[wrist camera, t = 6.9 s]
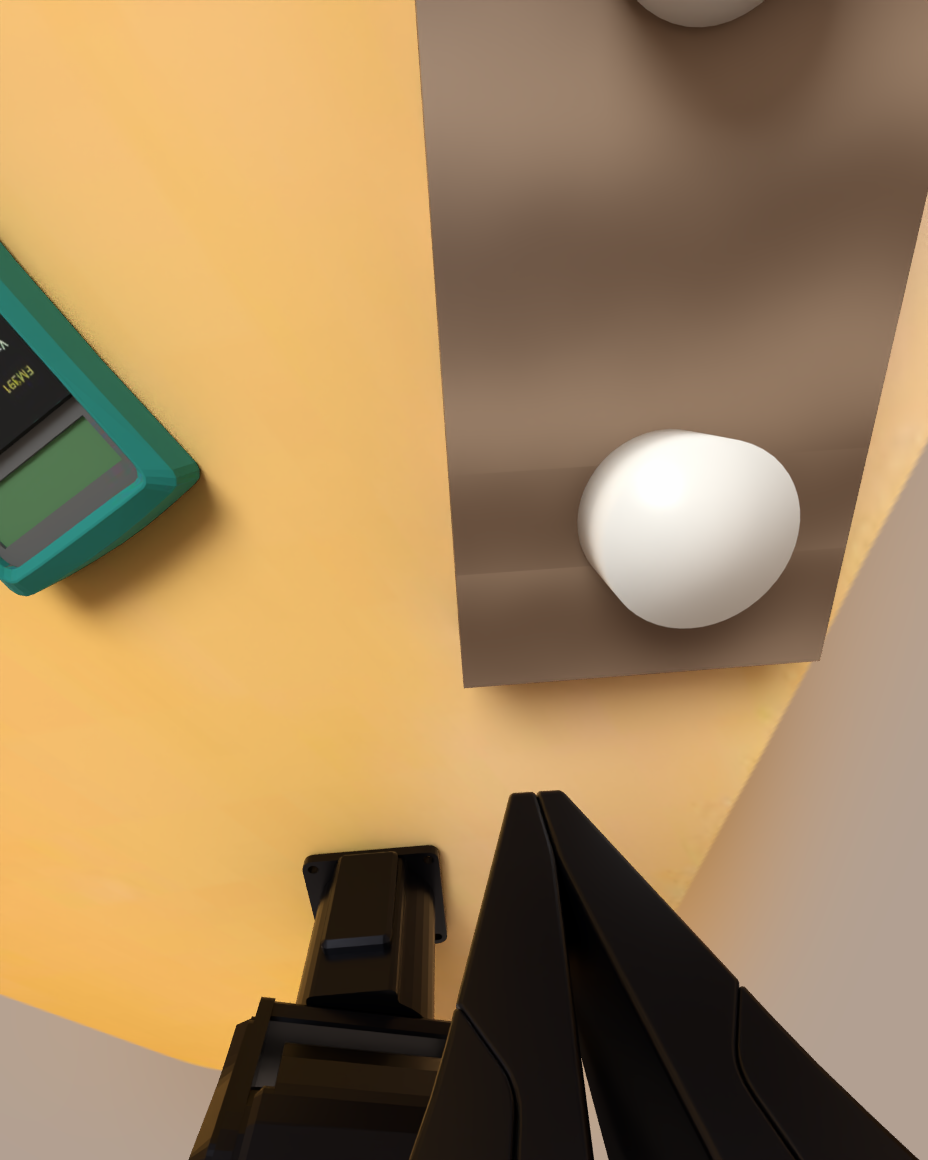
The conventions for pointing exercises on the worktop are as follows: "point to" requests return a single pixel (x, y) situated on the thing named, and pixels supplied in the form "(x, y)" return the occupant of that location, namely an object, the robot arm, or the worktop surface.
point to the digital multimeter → (70, 446)
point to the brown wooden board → (660, 291)
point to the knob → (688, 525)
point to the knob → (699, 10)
